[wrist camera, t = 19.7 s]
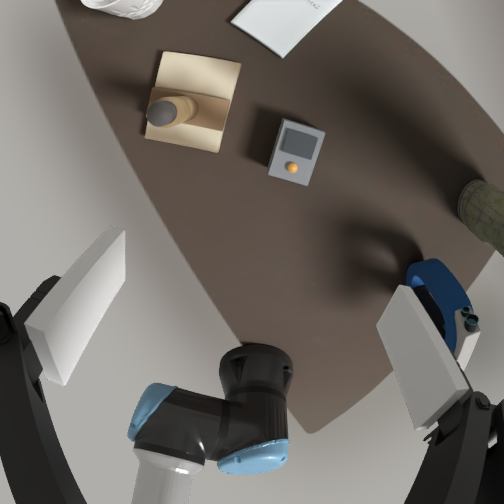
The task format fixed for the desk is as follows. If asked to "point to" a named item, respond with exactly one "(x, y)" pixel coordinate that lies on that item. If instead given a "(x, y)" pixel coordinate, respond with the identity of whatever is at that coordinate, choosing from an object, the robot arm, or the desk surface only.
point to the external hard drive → (281, 21)
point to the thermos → (483, 212)
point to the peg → (172, 111)
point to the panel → (195, 98)
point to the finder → (295, 151)
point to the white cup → (125, 7)
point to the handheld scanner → (445, 306)
